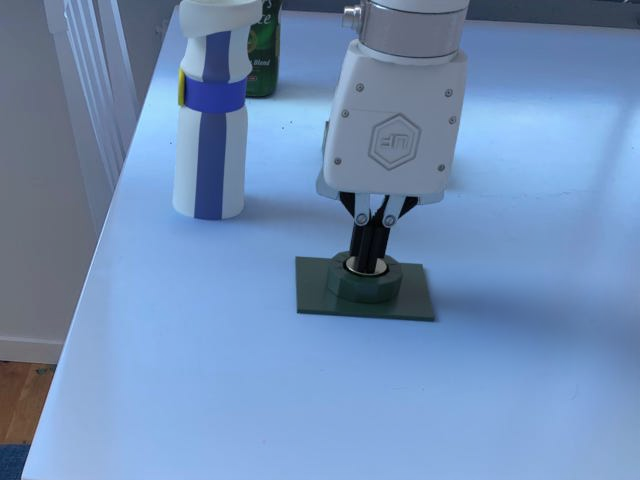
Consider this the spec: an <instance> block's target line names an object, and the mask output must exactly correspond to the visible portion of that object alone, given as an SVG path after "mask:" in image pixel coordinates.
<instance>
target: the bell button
mask: <svg viewBox="0 0 640 480" xmlns="http://www.w3.org/2000/svg"><path fill="white" fill-rule="evenodd" d="M345 270H346V271H347V272H348V273H350V274H352V275H355V276H358V277H364V278H377V277H382V276H385V272H386V264H385V263H384V262H383V261H382V260H380V259H377V264H376V269H375V272H369V271H368V270H366V268H365V270H363V271H357V270H356V263H355V257H351V258H349V259H348V260H347V262H346V266H345Z"/></svg>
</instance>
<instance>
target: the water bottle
mask: <svg viewBox="0 0 640 480" xmlns="http://www.w3.org/2000/svg"><path fill="white" fill-rule="evenodd" d="M178 11H179V13H178V16H179V17H178V20H179V26H180V29H181V32H182V35H183V36H182V37H183V39H187V45H186V49H185V53H184V56H183V58H182V59H181V61H180V64H179V67H178V88H177V90H178V91H177V105H178V106H179V110H178V115H177V127H176V146H175V147H176V148H175V164H174V165H175V166H174V167H175V168H174V178H173V180H174V181H173V191H172V207H173V208H174V210H175V211H176V212H177V213H179V214H181V215H182V216H185V217H188V218H191V219H195V220H201V221H221V220H226V219H231V218H233V217H236V216H238V215H239V214H241V213H242V212H243V210H244V207H245V180H246V179H245V177H246V160H247V159H246V158H247V157H246V156H247V144H248V130H249V129H248V128H249V116H248V114H249V113H248V109H247V105H246V96H247V95H246V84H247V75H248V74H249V73H250V72H251V71H252V65H251V62H250V61H249V58H248V53H247V41H248V35H249V31H250V27H251V25H253V24H255V23H257V22H259V21H260V20H261V18H262V0H181V1H180V3H179V9H178Z"/></svg>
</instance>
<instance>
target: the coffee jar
mask: <svg viewBox="0 0 640 480" xmlns="http://www.w3.org/2000/svg"><path fill="white" fill-rule="evenodd" d="M282 8H283V0H262V18H261V20H260V21H259V22H257V23H255V24H253V25H251V27H250V31H249V35H248V41H247V53H248V58H249V61H250V62H251V65H252V71H251V72H250V73H249V74H248V75H247V84H246V96H249V97H250V96H251V97H265V96H267V95H269V94H271V93H273V92H274V91H275V90H276V89H277V87H278V84H279V76H280V63H281V62H280V60H281V59H280V58H281V57H280V56H281V26H282Z"/></svg>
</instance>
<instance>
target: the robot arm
mask: <svg viewBox="0 0 640 480" xmlns="http://www.w3.org/2000/svg"><path fill="white" fill-rule="evenodd" d="M470 1H471V0H360V1H359V4H354V6H351V5H348V6H346V5H345V6H344V7H343V11H342V18H341V28H350V29H351V31H355V32H356V35H358V38H354V39H353V40H351V41H350V42H349V44H348V48H347V50H346V53H345V56H344V59H343V62H342V65H341V67H340V68H341V69H340V72H339V77H338V79H337V83H336V87H335V90H334V91H335V92H334V94H333V99H332V104H331V109H330V113H329V118H328V121H329V122H328V127H327V132H326V138H325V144H324V151H323V152H324V153H322V165H321V167H320V170H319V172H318V175H317V178H316V180H315V192H316V194H317V195H319V196H321V197H325V198H328V199H331V200H334V201H339V202H341V204H342V205H343V206H344V208H345V209H346V210H347V212H348V213H349V214H350V216H351V217H352V218H353V220H354V221H353V227H352V231H351V237H350V243H349V249H348V251H349V255H350V257H355V263H356V270H357V271H363V270H365V268H366V270H368V271H369V272H375V269H376V264H377V259H378V258H379V259H384V257H385V254H386V252H387V247H388V243H389V237H390V233H391V229H392V228H393V227H394V226H395V225H396V224H397V222H398V220H399V219H401V218H402V217H403V216H405V215H406V214H407V213H408V212H410V211H411V210H412V209H414V208H415V207H417V206H426V205H431V204H436V203H441V201H443V200H444V198H445V189H446V186H447V184H448V182H449V178H450V174H451V171H452V166H453V162H454V156H455V151H456V146H457V141H458V137H459V130H460V125H461V119H462V112H463V106H464V100H465V94H466V93H465V92H466V86H467V85H466V84H467V75H468V55H467V54H466V53H465V51H464V50H463V49H462V48H461V47H460V43H461V39H462V35H463V31H464V27H465V24H466V23H465V22H466V18H467V14H468V10H469V4H470ZM323 161H324V162H323ZM371 195H380V196H381V195H382V196H383V197H382V200H381V202H380V203H381V204H380V206H379V208H377V210H376V211H374V214H372V209H371V207H370V205H371V204H370V203H371Z"/></svg>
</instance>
